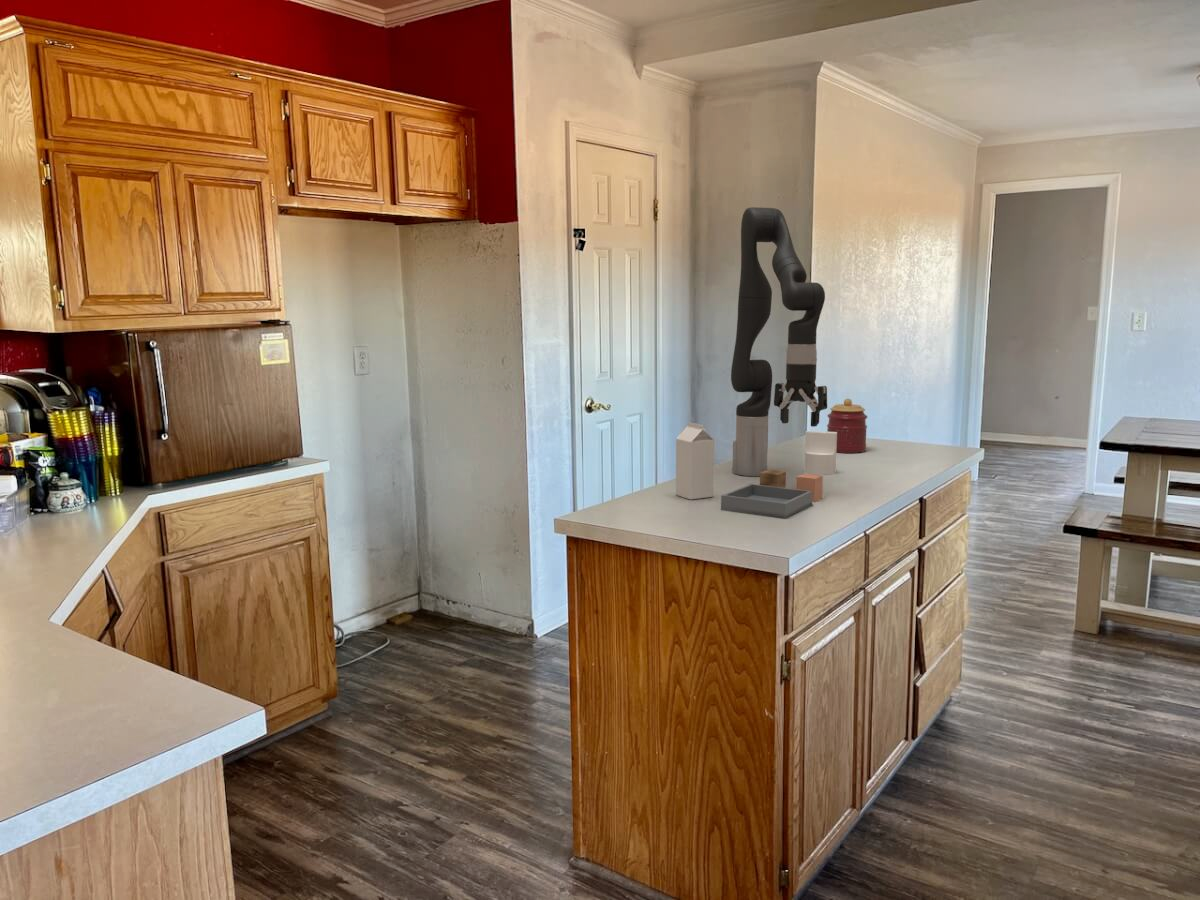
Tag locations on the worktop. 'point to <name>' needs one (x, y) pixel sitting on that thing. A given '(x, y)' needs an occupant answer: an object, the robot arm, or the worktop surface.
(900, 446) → the worktop surface
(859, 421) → the canister
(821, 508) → the worktop surface
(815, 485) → the terracotta block
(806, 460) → the cylinder with rectangular tab
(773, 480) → the walnut block
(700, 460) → the milk carton
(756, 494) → the tray
